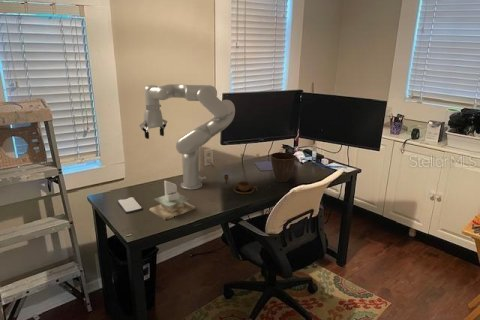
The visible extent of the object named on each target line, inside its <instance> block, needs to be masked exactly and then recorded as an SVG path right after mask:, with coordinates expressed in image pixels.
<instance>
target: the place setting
mask: <svg viewBox="0 0 480 320" xmlns="http://www.w3.org/2000/svg"><path fill="white" fill-rule="evenodd" d="M223 178H224V180H225V183H224V184H225V185H228V180H229V174H224V177H223ZM227 189H229V187H226V190H227ZM237 189H238V190H240V191H238V190H237ZM250 189H251V190H252V191H249V190H250ZM255 189H256V191H259V190H258V187H257V186H255V185H253V186H252V185H251V182H249V181H243V180H242V181H239V182H238V183H237V185H235V186H234V187H233V191H234V193H236V194H239V195H250V194H252V193H253V192H255Z"/></svg>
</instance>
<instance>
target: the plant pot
mask: <svg viewBox="0 0 480 320" xmlns="http://www.w3.org/2000/svg"><path fill="white" fill-rule="evenodd" d="M295 160H296V155H295V154H294V153H290V152H282V151H281V152H274V153H271V155H270V161H271V167H272V171H273V174H274V175H273V176H274V178H275V181H276V182H278V183H287V182H288V181H289V180H290V177H291V174H292V172H293V169H294V165H295Z"/></svg>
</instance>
